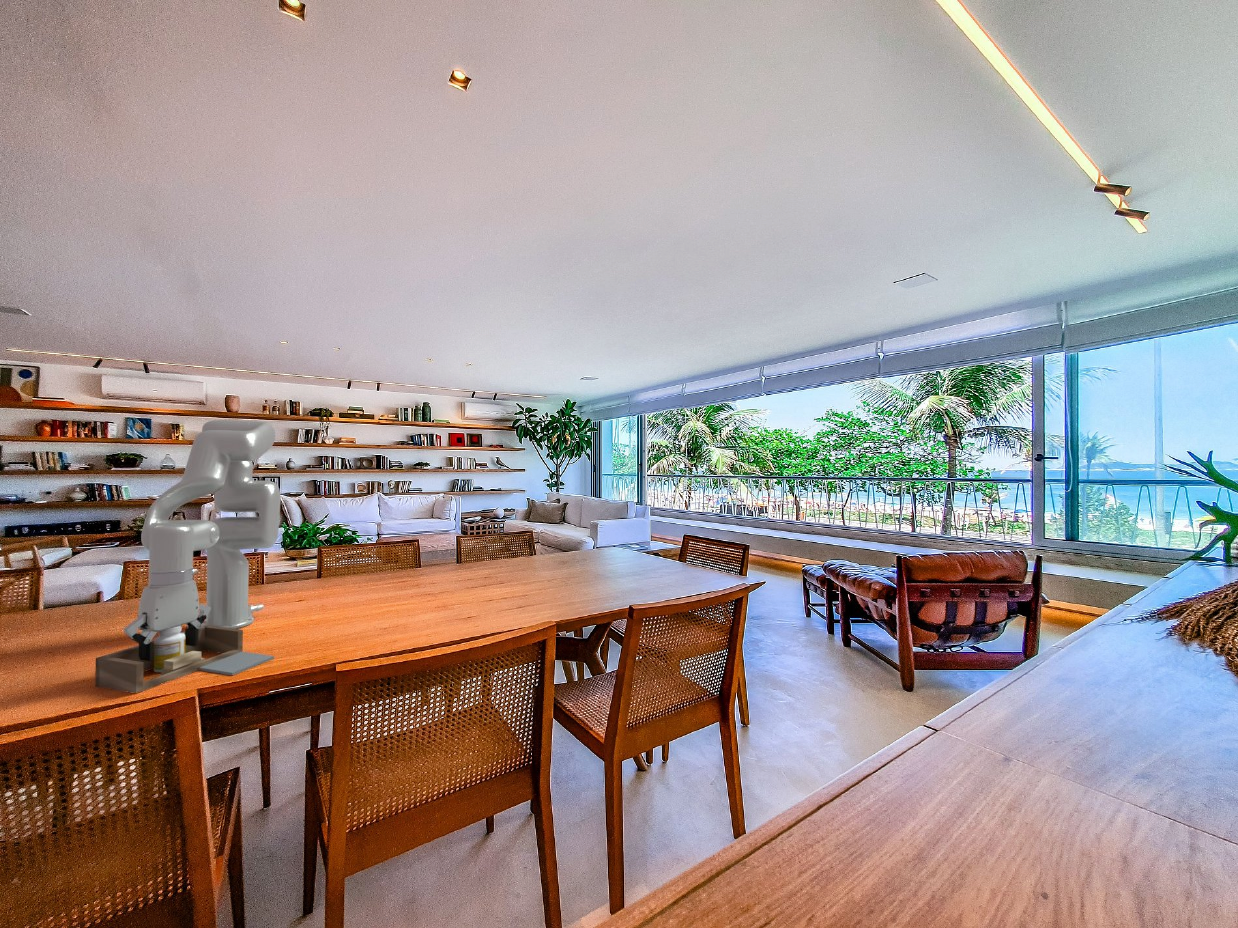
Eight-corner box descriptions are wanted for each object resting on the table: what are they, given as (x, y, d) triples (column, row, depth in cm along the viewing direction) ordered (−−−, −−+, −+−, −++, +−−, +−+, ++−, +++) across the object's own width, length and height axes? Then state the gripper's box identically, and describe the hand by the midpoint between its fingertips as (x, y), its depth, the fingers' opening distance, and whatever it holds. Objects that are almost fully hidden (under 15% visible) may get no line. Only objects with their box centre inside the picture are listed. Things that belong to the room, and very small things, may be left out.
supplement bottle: (166, 663, 115) (167, 622, 115) (191, 662, 115) (191, 622, 115) (146, 673, 110) (147, 630, 110) (172, 672, 110) (172, 629, 110)
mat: (242, 653, 121) (242, 651, 121) (274, 658, 119) (274, 655, 119) (199, 670, 112) (199, 667, 112) (232, 675, 109) (232, 672, 109)
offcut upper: (192, 658, 114) (192, 650, 114) (201, 659, 114) (201, 651, 114) (163, 668, 108) (163, 660, 108) (173, 669, 108) (173, 661, 108)
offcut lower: (196, 665, 115) (196, 656, 115) (204, 666, 114) (204, 658, 114) (161, 677, 108) (161, 668, 108) (170, 679, 108) (170, 670, 108)
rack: (206, 648, 124) (206, 625, 124) (242, 653, 121) (242, 629, 121) (95, 686, 103) (95, 657, 103) (135, 693, 100) (136, 664, 100)
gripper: (199, 569, 122) (198, 637, 122) (112, 585, 105) (111, 665, 105) (222, 571, 120) (221, 641, 120) (137, 588, 103) (136, 669, 103)
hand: (169, 652), depth 113 cm, fingers open, 8 cm apart
